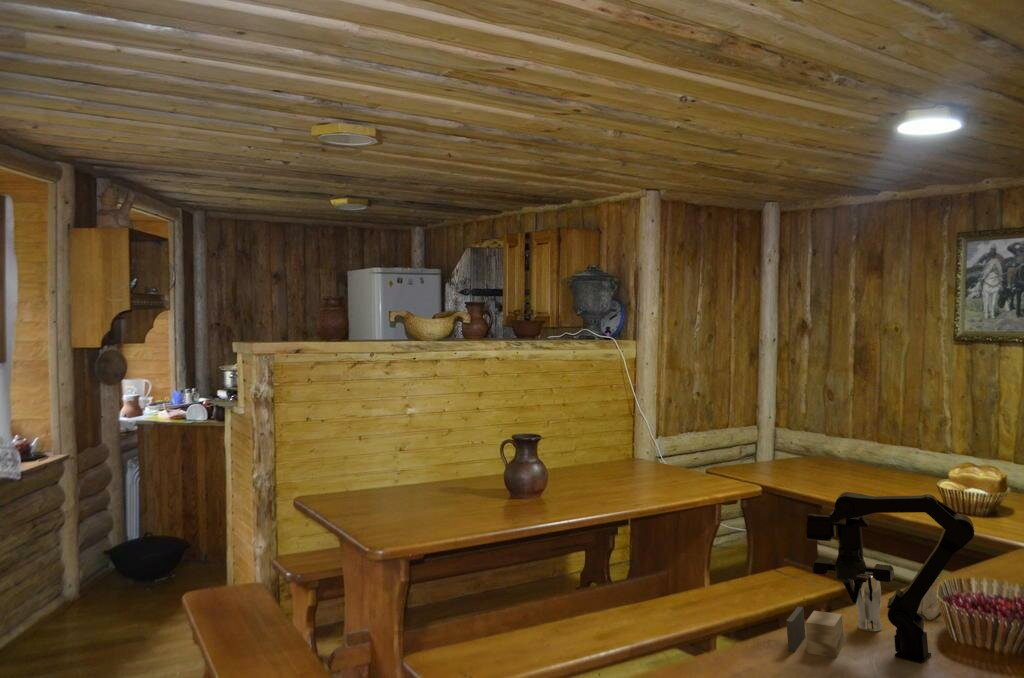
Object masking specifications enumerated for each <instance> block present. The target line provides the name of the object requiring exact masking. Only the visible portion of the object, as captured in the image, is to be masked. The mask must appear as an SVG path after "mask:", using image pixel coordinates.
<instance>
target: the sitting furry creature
mask: <svg viewBox="0 0 1024 678" xmlns="http://www.w3.org/2000/svg"><path fill="white" fill-rule="evenodd" d="M940 579H941V578H940V577H937V579H936V580H935V581H934V583H933V584H932V586H931V587H930V589H929V590H928V591H927V593H926V594H925V596H924V597H923V599H922V600H921V603H920V606H919V608H918V611H917V613H918V614H919V615H922V616H925V618H926V619H927V620H930V621H931V620H935V619H936V617H937V616H938V615H939V614H940V613H941V611H940V608H939V604H938V602H937V597H938V592H937V591H936V589H935V588H934V587H935V586H936V584H938V583H939V582H940ZM936 595H937V597H936Z"/></svg>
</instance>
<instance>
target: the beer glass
mask: <svg viewBox="0 0 1024 678" xmlns="http://www.w3.org/2000/svg"><path fill="white" fill-rule="evenodd" d="M853 582H854V580H853ZM881 599H882V588H881V581H876V580H875V579H874V578H873V575H870V577H869V579H868V580H867V582H863V584H862V587H861V590H860V593H859V597H858V600H857V603H855V604H856V608H857V612H858V618H857V619H858V620H857V621H858V622H857V628H858V629H859V630H862V631H864V632H871V633H872V632H876V633H877V632H880V631H882V630H883V626H882V623H881V617H880V610H881V602H882V600H881Z"/></svg>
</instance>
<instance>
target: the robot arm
mask: <svg viewBox="0 0 1024 678" xmlns="http://www.w3.org/2000/svg"><path fill="white" fill-rule="evenodd" d="M893 513H894V514H899V513H901V514H902V513H903V514H904V513H913V514H914V513H916V514H917V513H924V514H926V515H928V516H929V517H930V518H931V519H932V520H934V522H936V523H937V524H938V525H939V526H940V527H942V532H941V535H940V538H939V540H938V543H937V544H936V546H935V547H934V549H933V550H932V551H931V553H930V555H929V556H928V558H927V559H926V560H925V561H924V563H923V565H922V566H921V568H920V569H919V570H918V571H917V573H916V575H915V576H914V577H913V579H912V581H911V582H910V583H909V584H908V586H907V587H906V588H904V589H903V590H901V589H900V588H899V587H897V588H896V589H895V592H894V593H893V595H892V596H891V597H890V598H888V600H887V601H888V602H887V606H886V607H887V608H886V609H887V619H888V622H889V623H890V624H892V626H894V627H895V628H896V629H895V635H893V636H894V650H895V653H894V657H896V658H900V659H903V660H908V661H911V662H914V663H915V662H916V663H919V664H922V663H925V661H926V660H928V659H929V658H930V657H931V656H932V653H931V652H929V645H928V644H929V643H928V632H927V631H924V628H925V619H924V618H923V616H922V615H921V614H919V613H917V611H918V608H919V606H920V603H921V600H922V599H923V597H924V596H925V594H926V593H927V591H928V590H929V589H930V587H931V586H932V584H933V583H934V581H935V580H936V579H937V578H939V576H940V574H942V572H943V570H944V569H945V567H946V565H948V563H949V562H950V560H951V559H952V557H953V556H954V555H955V554H956V553H958V552H959V551H961V550H962V549H963V548H964V547H966V546H967V545H968V544H969V543H970V542H971V541H972V540H973V539H974V537H975V528H974V523H973V521H972V520H971V518H970V517H969V516H967V515H966V514H964V513H958V512H956V511H955V510H953V509H952V508H951V507H949V506H947V505H946V504H945V503H943V502H942V501H940V500H938V499H937V498H936V497H935V496H934V495H932V494H927V493H926V494H923V495H884V496H883V495H881V496H873V495H867V494H864V493H858V492H852V491H851V492H850V491H845V492H842V493H841V494H839V495H838V497H837V498H836V501H835V502H834V509H833V510H831V512H830V513H829V514H815V513H808V514H807V515H806V517H807V521H806V529H805V530H806V532H805V533H806V538H807V541H819V542H821V541H822V542H831V541H832V539H833V538H836V537H837V539H838V540H837V541H838V550H837V551H838V553H837V557H836V561H835V563H834V561H833V559H832V558H824V557H818V558H817V559H816V560H814V562H813V563H812V567H811V569H812V573H813V574H815V575H824V576H825V575H826V574H827V573H828V572H829V571H830V572H832V571H833V572H835V573H836V574H835V575H836V576H835V579H836V580H839V581H841V582H842V584H843V585H844V587H845V588H846V590H847V593H848V595H849V597H850V599H851V602H852V604H856V603H857V600H858V597H859V593H860V590H861V587H862V584H863V582H867V580H868V579H869V577H870V575H873V578H874V579H875V580H876V581H880V582H884V583H885V582H886V583H889V582H890V583H891V582H892V580H893V579H894V577H895V569H894V567H893V566H892V565H891V564H883V563H881V564H880V563H876V564H875V566H874V567H871V566H870V567H869V566H867V564H866V562H865V559H864V544H863V533H862V532H863V531H862V528H868V527H869V524H870V521H869V520H867V519H865V516H868V515H872V514H893ZM843 519H845V520H843ZM836 528H837V529H836ZM836 532H837V533H836ZM853 580H854V582H853Z"/></svg>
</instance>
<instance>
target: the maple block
mask: <svg viewBox="0 0 1024 678" xmlns="http://www.w3.org/2000/svg"><path fill="white" fill-rule="evenodd" d="M805 634H806V646H807V647H806V648H807V654H810V655H812V654H813V655H816V656H822V657H830V658H836V659H837V658H838V657H839V655H840V653H841V651H842V650H843V647H844V646H845V641H844V639H845V638H844V625H843V615H842V613H835V612H826V611H821V610H820V611H819V610H813V611H812V612H811V614H810V615H809V617H808V618H807V620H806V621H805Z"/></svg>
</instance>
